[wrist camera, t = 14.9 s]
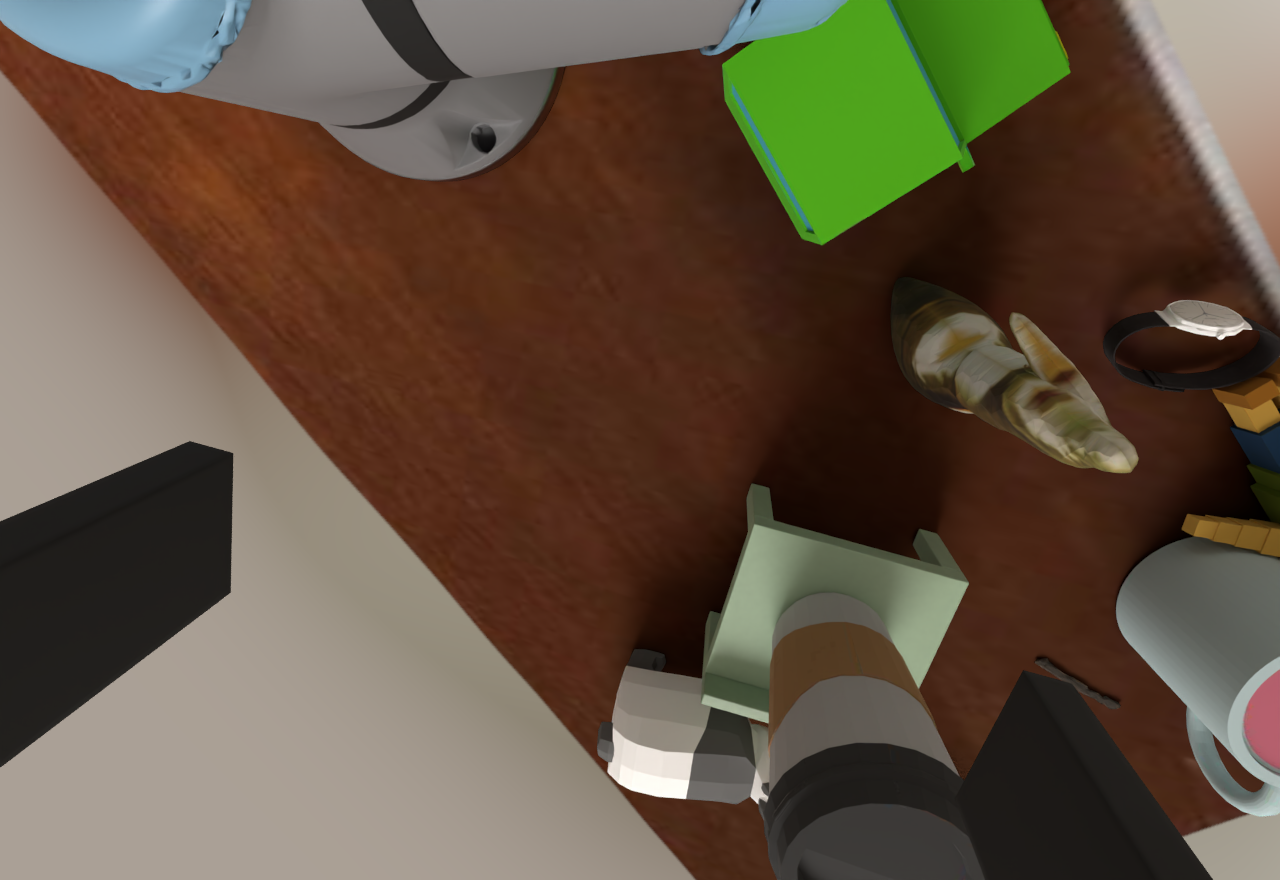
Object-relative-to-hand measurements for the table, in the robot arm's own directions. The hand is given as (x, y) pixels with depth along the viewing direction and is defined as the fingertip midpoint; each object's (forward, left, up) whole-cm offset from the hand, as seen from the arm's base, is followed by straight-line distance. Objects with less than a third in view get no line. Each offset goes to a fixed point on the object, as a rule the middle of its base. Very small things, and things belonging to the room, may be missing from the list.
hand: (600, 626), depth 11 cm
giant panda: (+24, +7, -31) cm, 40 cm away
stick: (+15, +31, -31) cm, 46 cm away
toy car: (-14, +6, -31) cm, 34 cm away
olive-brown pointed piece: (-3, +13, -31) cm, 34 cm away
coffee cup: (+14, +12, -25) cm, 31 cm away
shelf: (+14, +12, -31) cm, 36 cm away
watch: (-6, +25, -31) cm, 40 cm away
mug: (+11, +35, -31) cm, 47 cm away
